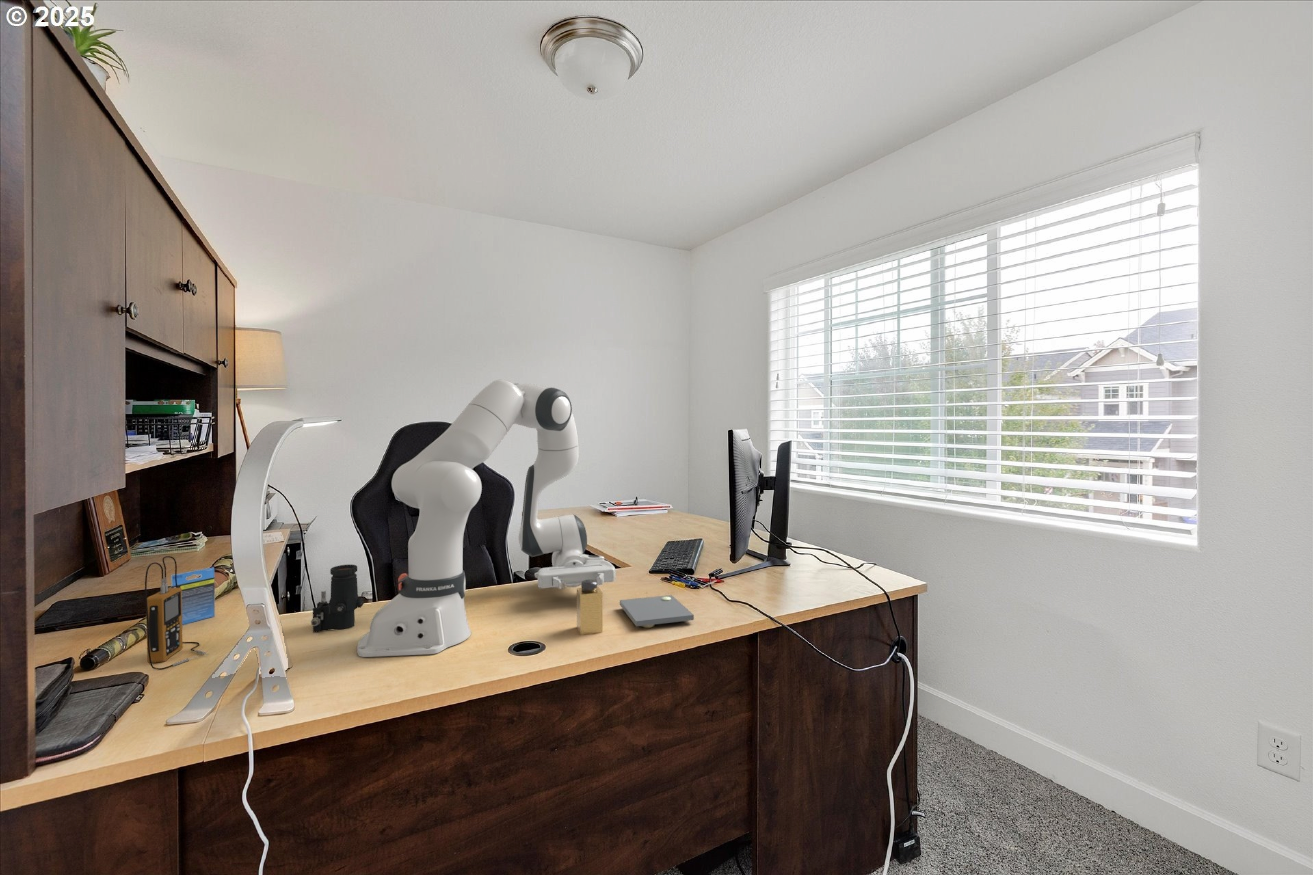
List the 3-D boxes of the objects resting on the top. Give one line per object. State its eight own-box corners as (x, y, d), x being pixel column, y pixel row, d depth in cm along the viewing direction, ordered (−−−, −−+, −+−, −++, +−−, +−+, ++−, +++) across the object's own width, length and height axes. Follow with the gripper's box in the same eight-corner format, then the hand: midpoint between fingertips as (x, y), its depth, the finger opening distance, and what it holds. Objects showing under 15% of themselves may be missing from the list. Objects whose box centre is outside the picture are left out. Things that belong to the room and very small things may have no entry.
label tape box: (207, 614, 138) (206, 564, 138) (216, 616, 136) (215, 566, 136) (163, 625, 130) (162, 573, 130) (172, 628, 128) (171, 575, 128)
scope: (319, 564, 132) (366, 561, 134) (320, 622, 132) (367, 618, 135) (308, 573, 124) (358, 570, 126) (309, 635, 124) (359, 630, 127)
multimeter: (198, 666, 108) (196, 563, 108) (135, 672, 105) (132, 567, 105) (231, 638, 122) (230, 547, 122) (177, 643, 120) (175, 550, 119)
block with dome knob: (580, 634, 124) (580, 585, 124) (576, 626, 129) (576, 579, 129) (602, 632, 126) (602, 583, 126) (598, 624, 131) (597, 578, 130)
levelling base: (636, 630, 127) (636, 619, 127) (619, 608, 142) (619, 598, 142) (693, 624, 131) (693, 613, 131) (671, 603, 146) (671, 593, 146)
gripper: (533, 561, 149) (538, 574, 136) (608, 555, 155) (620, 567, 142) (534, 584, 149) (538, 600, 136) (608, 577, 155) (620, 592, 142)
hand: (581, 583), depth 139 cm, fingers open, 8 cm apart
